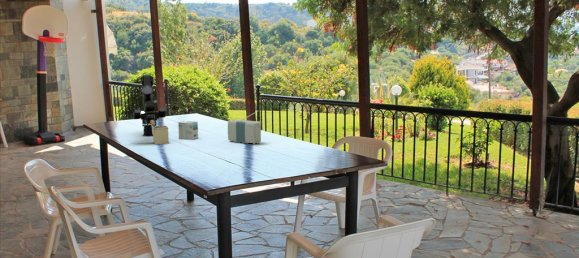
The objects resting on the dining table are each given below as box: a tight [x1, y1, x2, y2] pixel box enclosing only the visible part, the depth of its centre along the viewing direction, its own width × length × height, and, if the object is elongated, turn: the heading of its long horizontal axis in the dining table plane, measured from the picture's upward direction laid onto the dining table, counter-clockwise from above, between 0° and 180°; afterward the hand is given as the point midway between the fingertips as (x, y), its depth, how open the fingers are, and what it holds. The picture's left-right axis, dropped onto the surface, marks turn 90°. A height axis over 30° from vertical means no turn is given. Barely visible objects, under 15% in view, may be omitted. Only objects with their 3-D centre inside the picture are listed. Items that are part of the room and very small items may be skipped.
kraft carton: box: [152, 125, 170, 145], centre depth 337 cm, size 8×10×10 cm
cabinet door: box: [150, 120, 155, 136], centre depth 335 cm, size 2×9×9 cm, turn 19°
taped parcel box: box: [227, 110, 262, 145], centre depth 337 cm, size 21×8×20 cm, turn 56°
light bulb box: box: [177, 120, 199, 140], centre depth 352 cm, size 11×7×11 cm, turn 71°
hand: (151, 124), depth 331 cm, fingers open, 4 cm apart
